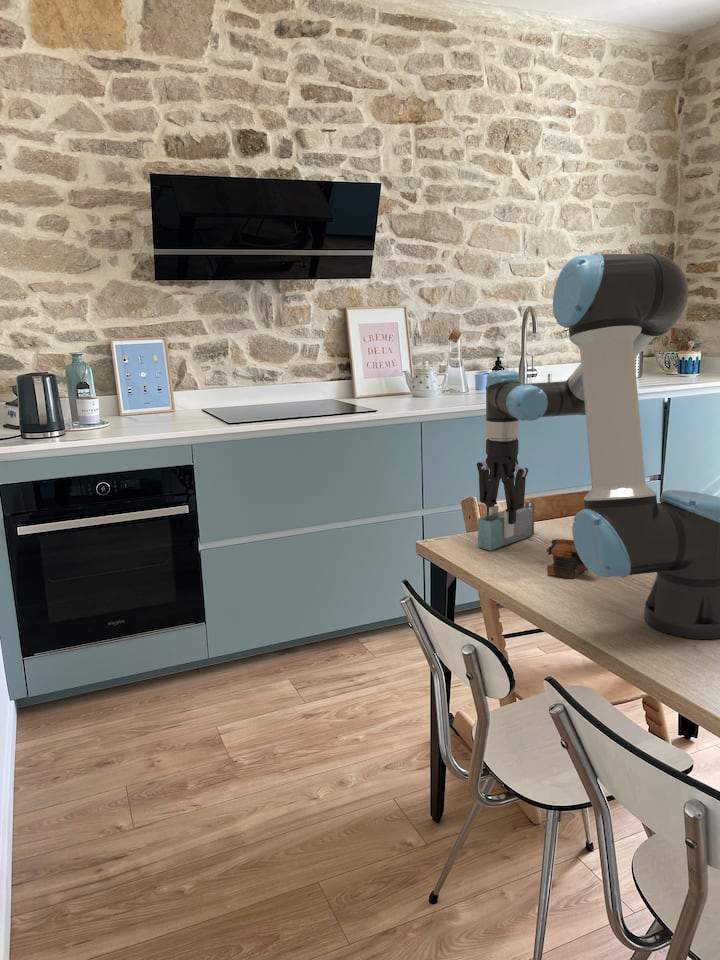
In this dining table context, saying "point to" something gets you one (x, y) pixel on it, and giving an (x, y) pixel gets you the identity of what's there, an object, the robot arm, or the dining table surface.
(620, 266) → the robot arm
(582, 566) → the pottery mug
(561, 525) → the dining table surface
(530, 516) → the right tong arm
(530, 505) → the pivot post
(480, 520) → the left tong arm
